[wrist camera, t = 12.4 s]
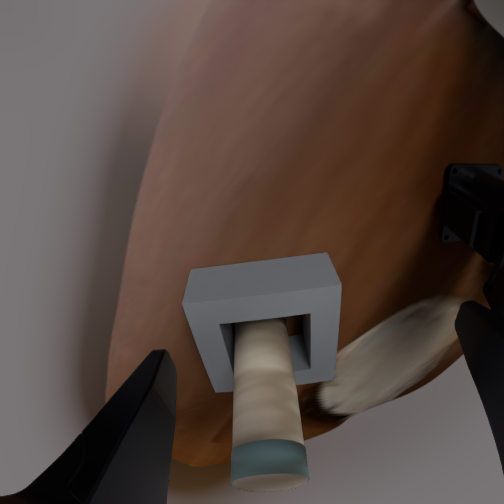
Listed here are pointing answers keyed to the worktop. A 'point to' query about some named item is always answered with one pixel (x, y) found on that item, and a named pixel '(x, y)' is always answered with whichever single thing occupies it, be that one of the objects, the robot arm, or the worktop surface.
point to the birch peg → (266, 411)
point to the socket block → (266, 312)
